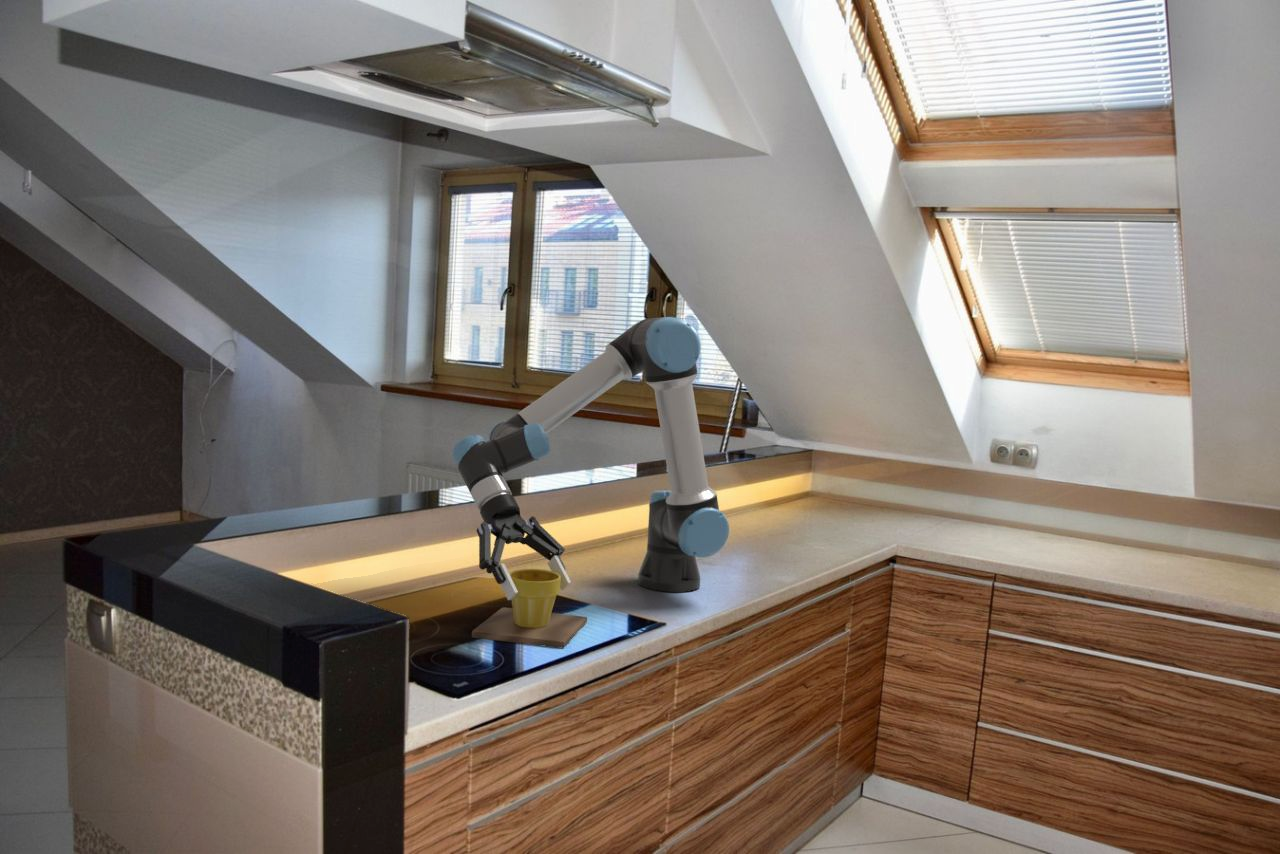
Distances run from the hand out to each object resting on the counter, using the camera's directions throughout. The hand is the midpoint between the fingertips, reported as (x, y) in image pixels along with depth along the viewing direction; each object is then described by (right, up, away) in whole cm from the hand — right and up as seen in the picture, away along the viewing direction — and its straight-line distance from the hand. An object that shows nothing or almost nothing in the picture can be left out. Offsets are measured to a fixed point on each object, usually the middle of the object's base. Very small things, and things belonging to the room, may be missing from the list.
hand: (540, 591), depth 185 cm
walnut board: (-2, -8, +2) cm, 8 cm away
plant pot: (-2, -7, +2) cm, 7 cm away
